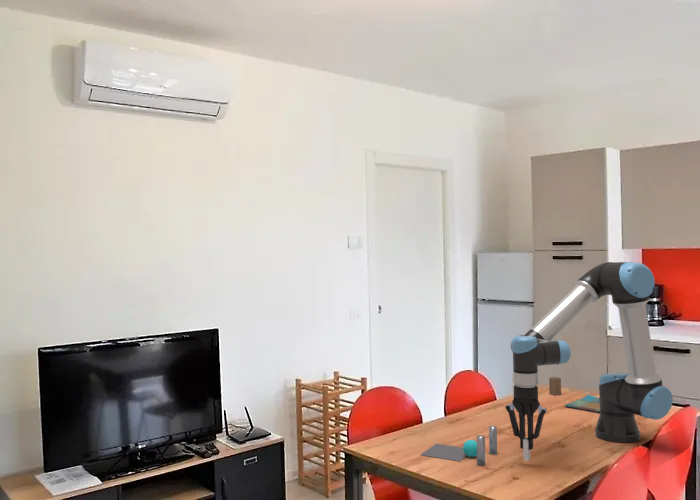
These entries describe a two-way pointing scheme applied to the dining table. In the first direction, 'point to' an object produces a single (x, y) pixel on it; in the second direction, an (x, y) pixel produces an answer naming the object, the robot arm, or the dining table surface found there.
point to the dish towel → (586, 404)
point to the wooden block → (555, 386)
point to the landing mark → (445, 452)
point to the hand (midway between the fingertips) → (526, 459)
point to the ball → (470, 448)
